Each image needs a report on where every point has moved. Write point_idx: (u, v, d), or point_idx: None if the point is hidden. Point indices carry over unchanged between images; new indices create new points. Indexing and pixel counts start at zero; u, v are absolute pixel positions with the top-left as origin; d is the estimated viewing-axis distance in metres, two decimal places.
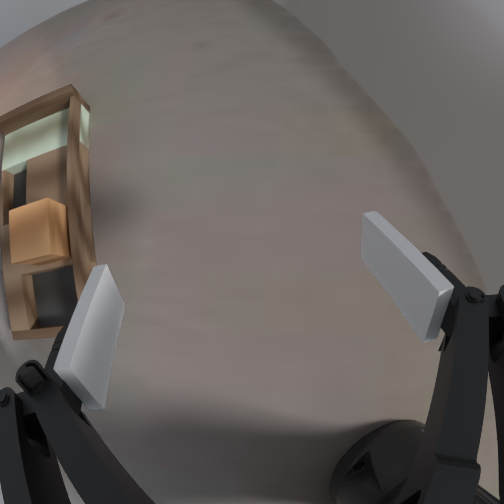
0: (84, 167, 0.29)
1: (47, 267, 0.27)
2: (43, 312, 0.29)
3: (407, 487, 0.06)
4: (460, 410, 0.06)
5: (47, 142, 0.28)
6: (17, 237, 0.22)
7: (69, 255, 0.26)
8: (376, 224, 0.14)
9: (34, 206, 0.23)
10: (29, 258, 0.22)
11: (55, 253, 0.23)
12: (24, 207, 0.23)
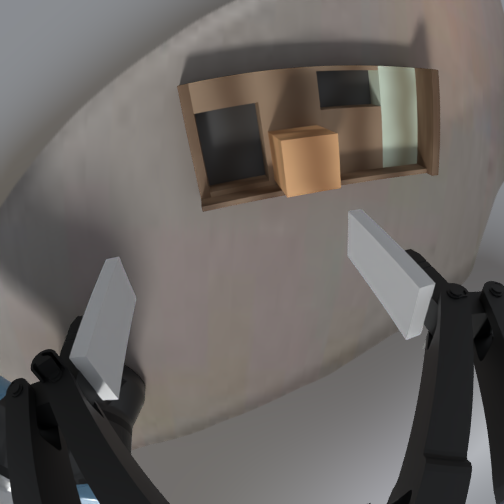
0: None
1: (265, 142, 0.29)
2: (212, 118, 0.29)
3: (398, 487, 0.06)
4: (447, 408, 0.06)
5: (391, 132, 0.30)
6: (307, 150, 0.25)
7: (279, 184, 0.30)
8: (361, 222, 0.14)
9: (335, 171, 0.26)
10: (284, 168, 0.25)
11: (286, 193, 0.27)
12: (337, 157, 0.25)
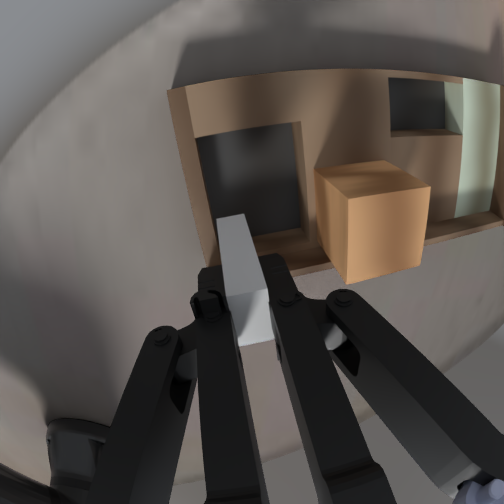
0: None
1: (308, 185, 0.19)
2: (223, 142, 0.19)
3: None
4: (325, 422, 0.07)
5: (470, 171, 0.20)
6: (386, 213, 0.15)
7: None
8: (234, 227, 0.15)
9: (417, 243, 0.16)
10: (348, 242, 0.15)
11: (342, 275, 0.17)
12: (423, 223, 0.15)
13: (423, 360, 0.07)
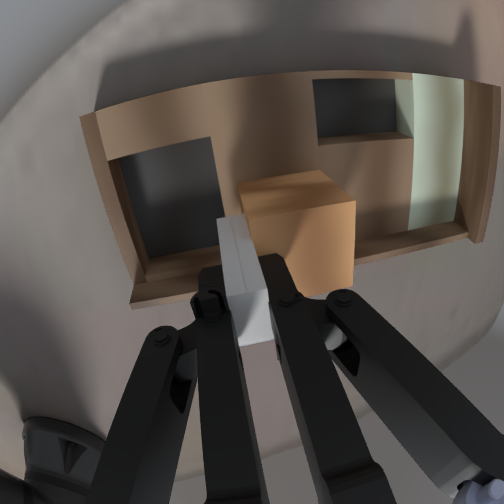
0: None
1: (225, 202, 0.18)
2: (143, 160, 0.18)
3: None
4: (325, 422, 0.07)
5: (425, 178, 0.19)
6: (299, 232, 0.14)
7: None
8: (234, 227, 0.15)
9: (345, 263, 0.16)
10: None
11: None
12: (350, 241, 0.15)
13: (423, 360, 0.07)
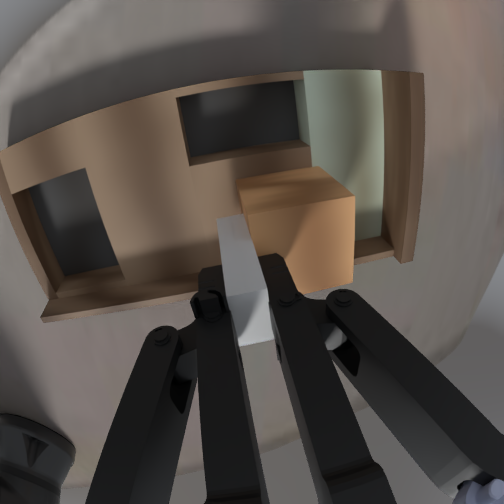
0: None
1: (107, 227, 0.18)
2: (47, 189, 0.18)
3: None
4: (325, 422, 0.07)
5: None
6: (298, 228, 0.14)
7: None
8: (234, 227, 0.15)
9: (345, 259, 0.15)
10: None
11: None
12: (350, 237, 0.15)
13: (423, 360, 0.07)
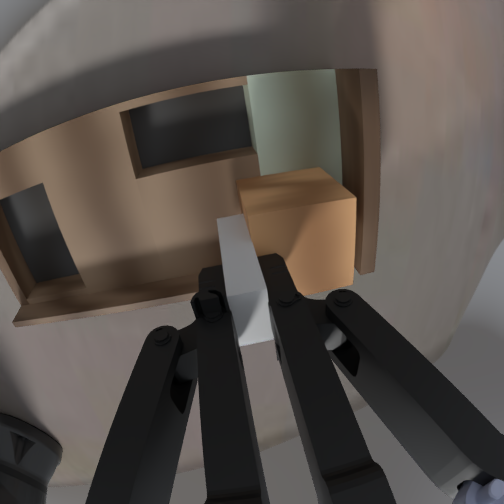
0: None
1: (66, 238, 0.18)
2: (15, 201, 0.18)
3: None
4: (324, 422, 0.07)
5: None
6: (298, 229, 0.14)
7: None
8: (233, 227, 0.15)
9: (346, 260, 0.15)
10: None
11: None
12: (351, 238, 0.15)
13: (422, 360, 0.07)
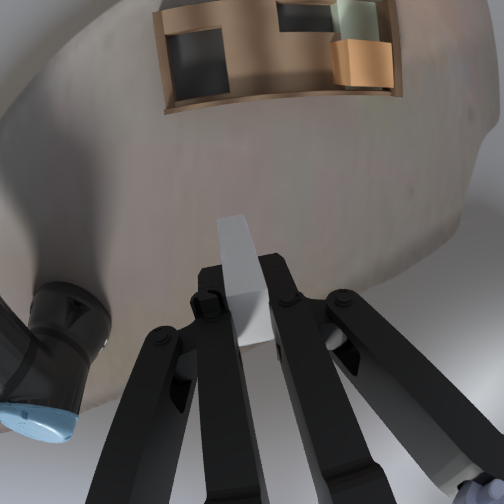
0: None
1: (227, 58, 0.28)
2: (182, 41, 0.28)
3: None
4: (325, 422, 0.07)
5: None
6: (368, 50, 0.24)
7: (339, 84, 0.29)
8: (234, 226, 0.15)
9: (389, 72, 0.26)
10: (349, 61, 0.25)
11: (348, 85, 0.27)
12: (390, 61, 0.25)
13: (423, 360, 0.07)
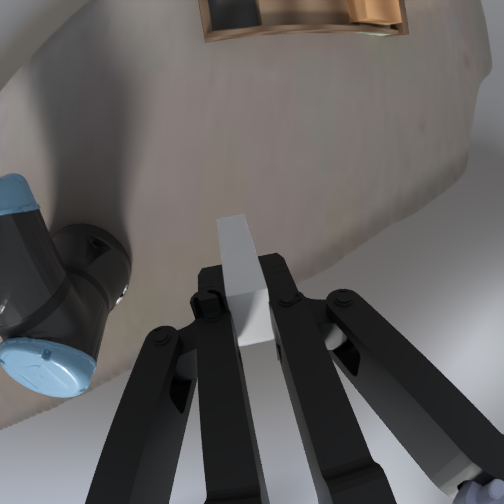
0: (337, 31, 0.32)
1: None
2: None
3: None
4: (325, 422, 0.07)
5: None
6: None
7: (355, 21, 0.29)
8: (234, 227, 0.15)
9: (397, 10, 0.26)
10: None
11: (365, 19, 0.27)
12: (397, 2, 0.25)
13: (423, 360, 0.07)
